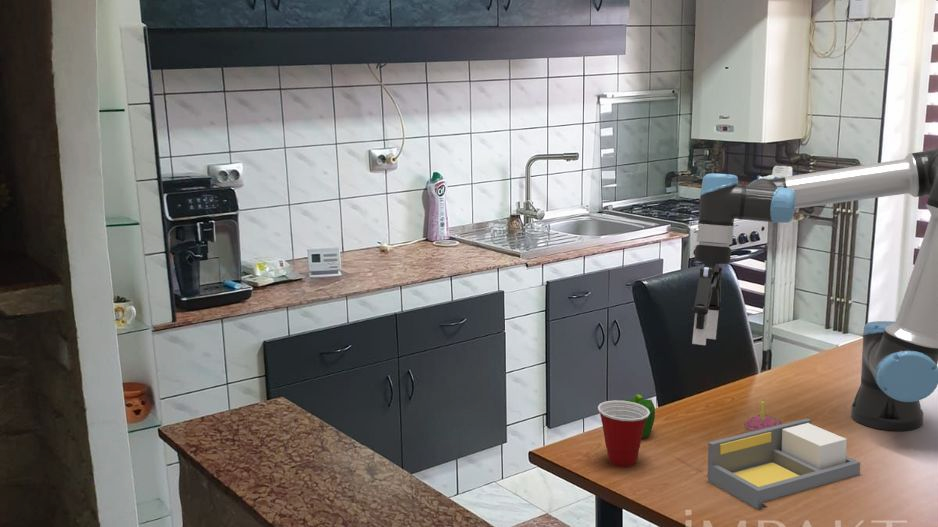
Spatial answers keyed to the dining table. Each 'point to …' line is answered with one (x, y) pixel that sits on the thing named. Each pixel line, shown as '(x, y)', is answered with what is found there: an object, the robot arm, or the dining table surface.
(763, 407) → the cupcake
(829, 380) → the dining table surface
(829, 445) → the blank block
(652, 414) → the bell pepper
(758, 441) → the tray
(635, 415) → the plastic cup
